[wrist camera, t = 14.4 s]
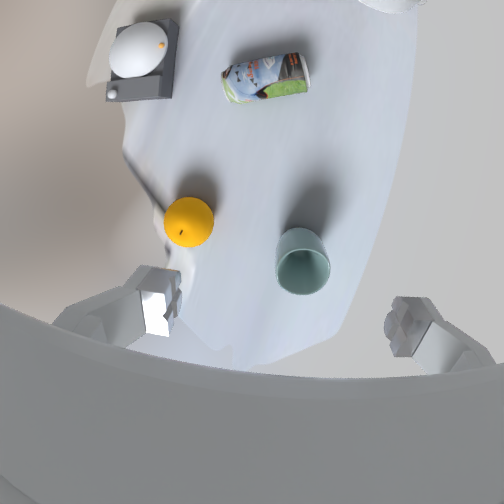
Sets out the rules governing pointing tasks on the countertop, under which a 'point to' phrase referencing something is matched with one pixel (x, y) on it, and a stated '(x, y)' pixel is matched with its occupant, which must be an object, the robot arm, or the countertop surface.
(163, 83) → the body block
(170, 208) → the apple
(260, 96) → the beverage can
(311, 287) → the cup
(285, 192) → the countertop surface
